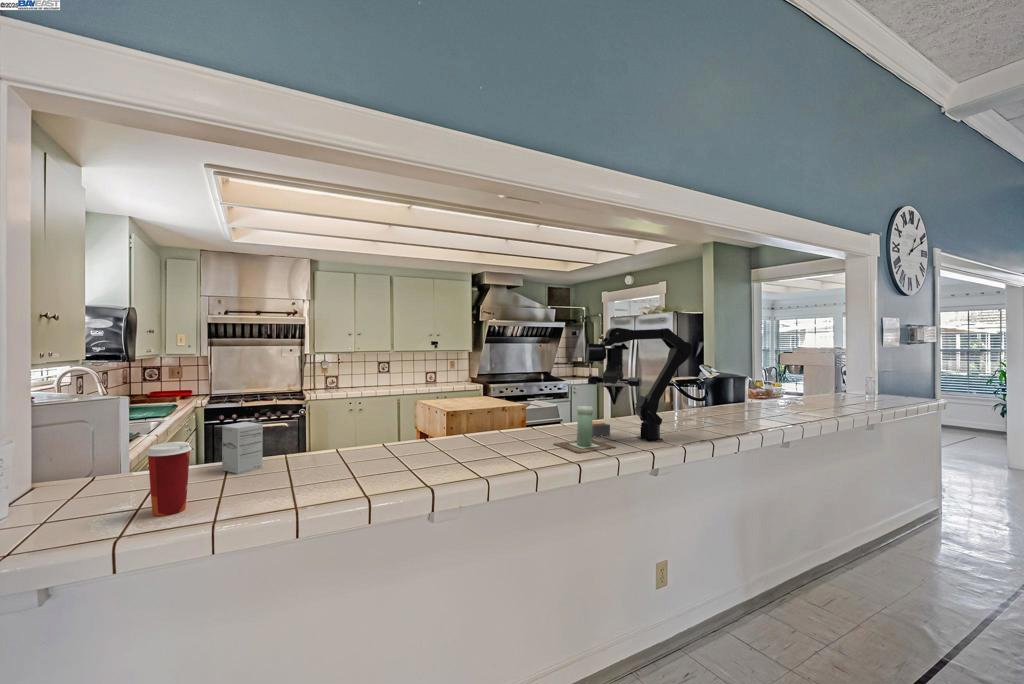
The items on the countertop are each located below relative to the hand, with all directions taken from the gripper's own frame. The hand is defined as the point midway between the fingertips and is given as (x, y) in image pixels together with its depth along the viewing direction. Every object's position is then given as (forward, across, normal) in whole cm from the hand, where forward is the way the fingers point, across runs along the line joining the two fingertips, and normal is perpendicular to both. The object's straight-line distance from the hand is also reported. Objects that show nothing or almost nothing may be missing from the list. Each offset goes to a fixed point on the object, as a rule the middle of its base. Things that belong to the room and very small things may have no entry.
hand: (614, 404), depth 164 cm
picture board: (+13, -7, -15) cm, 21 cm away
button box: (+13, -9, +6) cm, 17 cm away
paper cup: (+13, -67, -112) cm, 131 cm away
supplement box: (+13, -83, -86) cm, 120 cm away
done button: (+11, -9, +6) cm, 15 cm away
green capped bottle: (+12, -7, -15) cm, 20 cm away
